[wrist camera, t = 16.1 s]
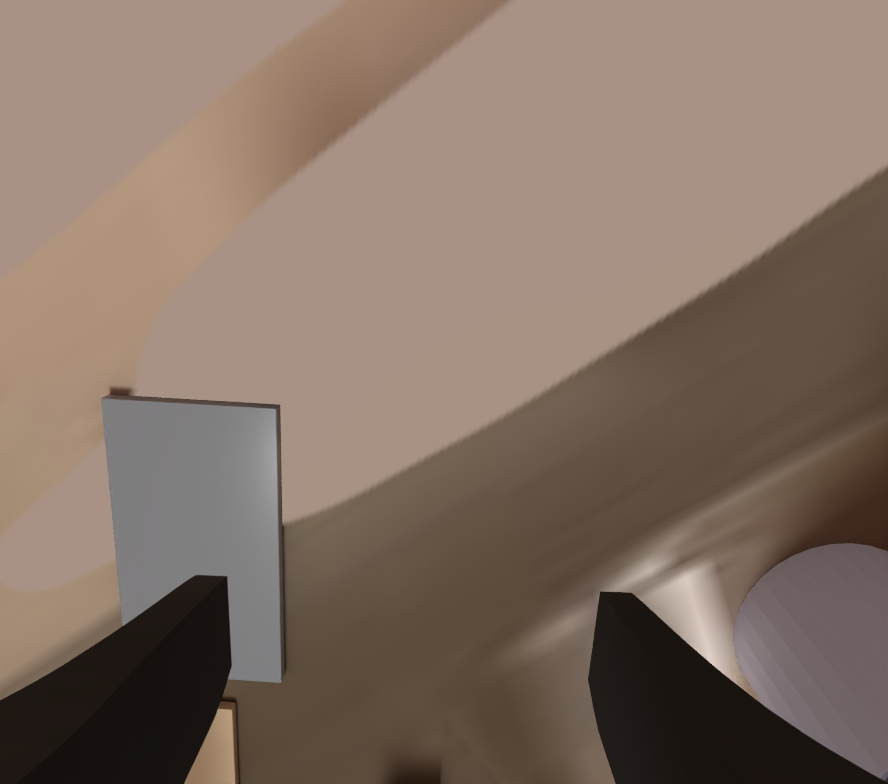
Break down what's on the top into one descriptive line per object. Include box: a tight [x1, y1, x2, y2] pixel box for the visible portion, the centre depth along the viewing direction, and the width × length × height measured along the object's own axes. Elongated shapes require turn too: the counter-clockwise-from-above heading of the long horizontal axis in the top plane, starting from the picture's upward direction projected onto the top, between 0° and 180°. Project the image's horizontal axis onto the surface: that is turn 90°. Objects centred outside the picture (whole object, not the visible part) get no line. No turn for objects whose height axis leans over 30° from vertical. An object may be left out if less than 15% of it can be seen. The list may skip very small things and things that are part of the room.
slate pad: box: [101, 395, 285, 683], centre depth 24 cm, size 6×11×1 cm, turn 177°
